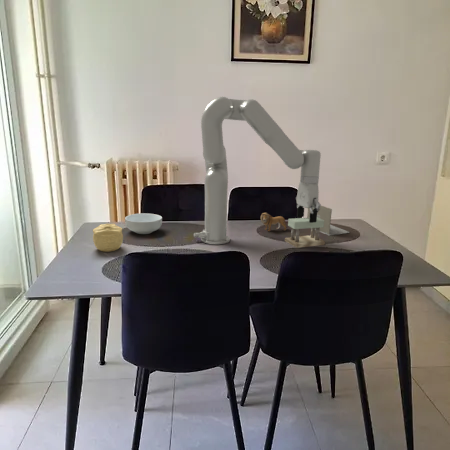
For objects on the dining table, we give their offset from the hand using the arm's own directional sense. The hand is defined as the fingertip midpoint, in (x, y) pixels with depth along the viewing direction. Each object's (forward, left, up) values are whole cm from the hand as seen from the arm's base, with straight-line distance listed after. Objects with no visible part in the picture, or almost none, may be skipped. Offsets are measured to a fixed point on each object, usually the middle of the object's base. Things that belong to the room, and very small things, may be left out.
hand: (306, 219), depth 171 cm
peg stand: (0, 0, -10) cm, 10 cm away
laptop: (+23, +16, -11) cm, 30 cm away
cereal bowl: (-63, +38, -11) cm, 74 cm away
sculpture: (-81, +17, -11) cm, 83 cm away
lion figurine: (-4, +22, -11) cm, 25 cm away
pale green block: (0, 0, -3) cm, 3 cm away
